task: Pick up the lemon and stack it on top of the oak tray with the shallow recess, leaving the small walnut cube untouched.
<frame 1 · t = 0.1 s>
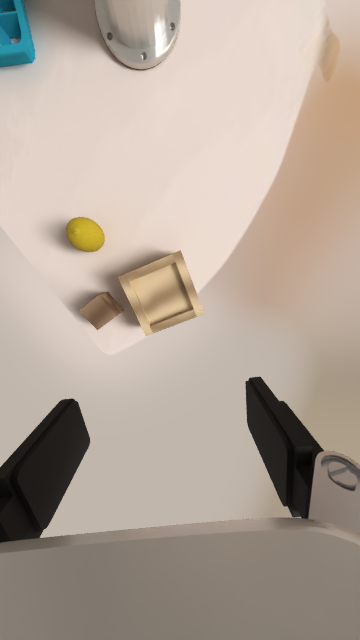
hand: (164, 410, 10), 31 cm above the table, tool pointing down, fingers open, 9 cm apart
walnut cube: (107, 307, 40), on the table
lemon: (97, 239, 37), on the table
oak tray: (164, 291, 39), on the table
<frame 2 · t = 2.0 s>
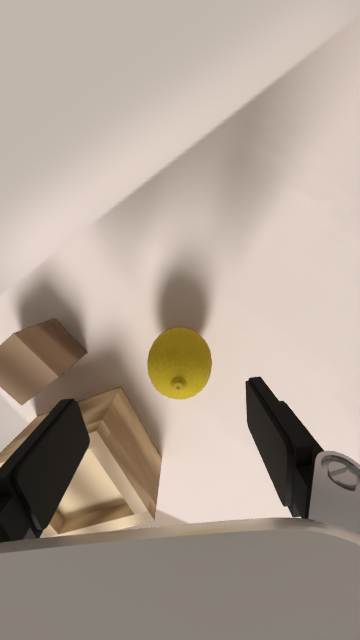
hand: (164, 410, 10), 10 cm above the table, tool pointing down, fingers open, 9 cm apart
walnut cube: (56, 348, 21), on the table
lemon: (180, 342, 20), on the table
oak tray: (101, 438, 24), on the table
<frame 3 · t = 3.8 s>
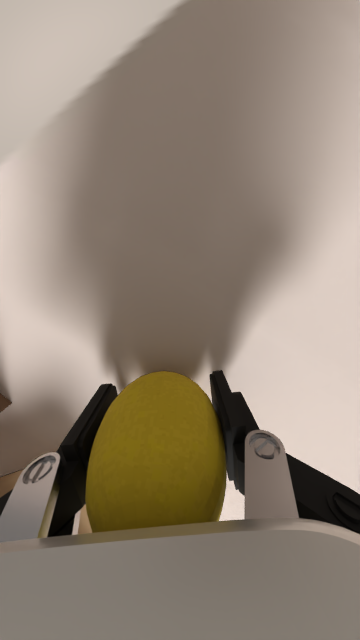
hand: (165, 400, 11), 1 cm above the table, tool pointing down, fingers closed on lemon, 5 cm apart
lemon: (166, 384, 12), on the table, touching gripper
oak tray: (48, 523, 16), on the table
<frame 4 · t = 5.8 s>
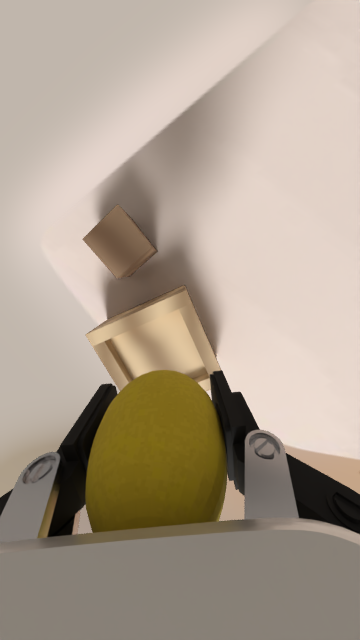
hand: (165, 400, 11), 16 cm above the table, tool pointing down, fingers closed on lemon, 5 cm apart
walnut cube: (130, 248, 23), on the table
lemon: (167, 383, 12), point 14 cm above the table, touching gripper
oak tray: (163, 339, 27), on the table
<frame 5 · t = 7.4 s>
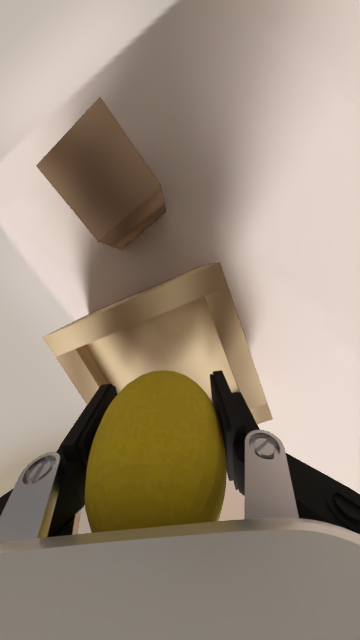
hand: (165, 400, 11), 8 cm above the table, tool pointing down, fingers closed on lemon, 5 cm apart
walnut cube: (124, 205, 15), on the table
lemon: (166, 383, 12), point 7 cm above the table, touching gripper
oak tray: (170, 345, 19), on the table
when the fingers open (8 cm above the table, at t = 8.2 s): lemon drops 1 cm, resting on oak tray.
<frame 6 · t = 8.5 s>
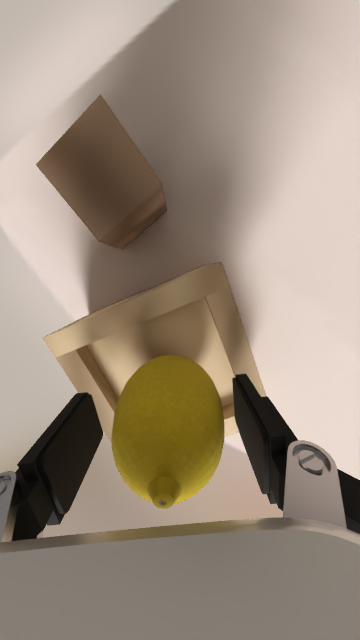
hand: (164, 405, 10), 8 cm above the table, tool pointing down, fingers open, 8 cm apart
walnut cube: (124, 204, 15), on the table
lemon: (173, 370, 14), point 5 cm above the table, touching oak tray
oak tray: (170, 345, 18), on the table
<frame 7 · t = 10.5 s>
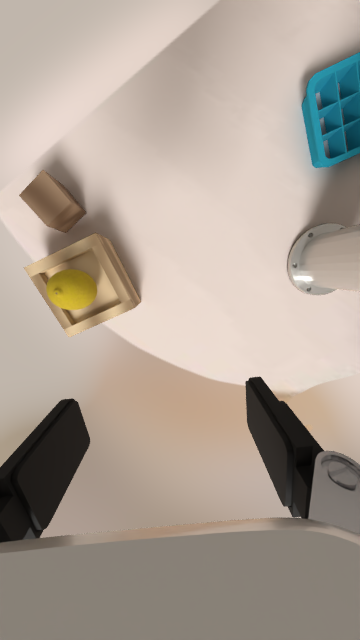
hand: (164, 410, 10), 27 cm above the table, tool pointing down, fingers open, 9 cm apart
walnut cube: (65, 210, 31), on the table
lemon: (87, 287, 29), point 5 cm above the table, touching oak tray
oak tray: (97, 285, 34), on the table
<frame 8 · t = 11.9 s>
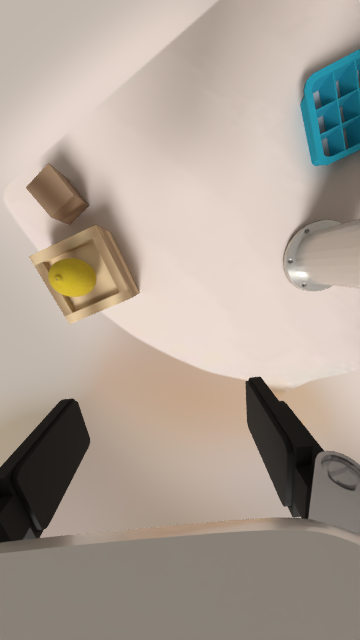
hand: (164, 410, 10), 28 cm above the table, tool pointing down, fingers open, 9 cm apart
walnut cube: (69, 202, 32), on the table
lemon: (88, 276, 31), point 5 cm above the table, touching oak tray
oak tray: (98, 276, 36), on the table
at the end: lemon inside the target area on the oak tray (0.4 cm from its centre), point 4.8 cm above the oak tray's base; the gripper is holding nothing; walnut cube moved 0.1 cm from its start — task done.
